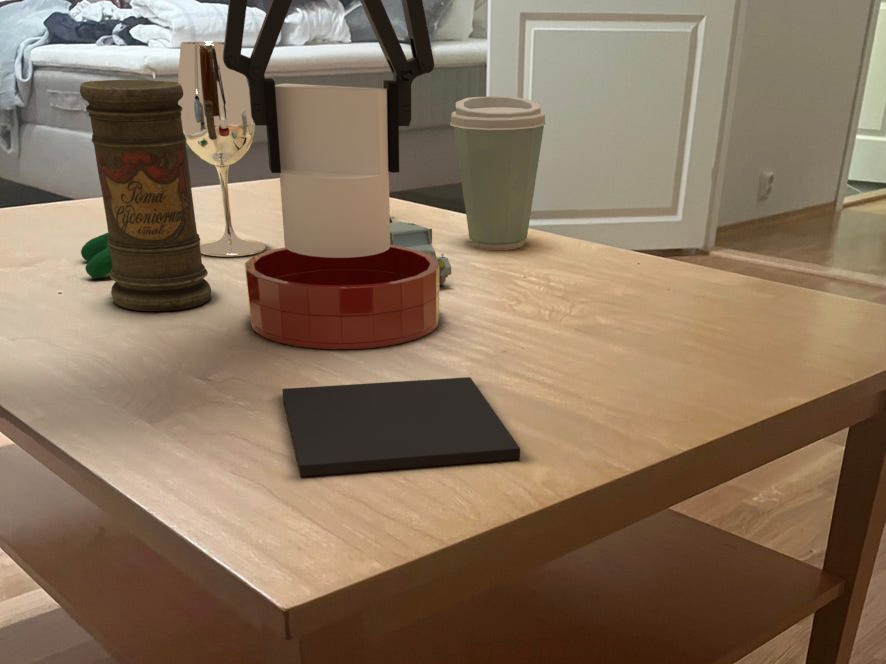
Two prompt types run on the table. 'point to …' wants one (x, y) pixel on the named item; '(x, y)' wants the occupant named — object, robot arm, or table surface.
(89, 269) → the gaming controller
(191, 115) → the wineglass
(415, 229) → the toy car
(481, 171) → the disposable coffee cup
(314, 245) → the base with upright slab
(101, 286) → the table surface
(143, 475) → the table surface
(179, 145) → the container
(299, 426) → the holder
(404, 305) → the red round dish
